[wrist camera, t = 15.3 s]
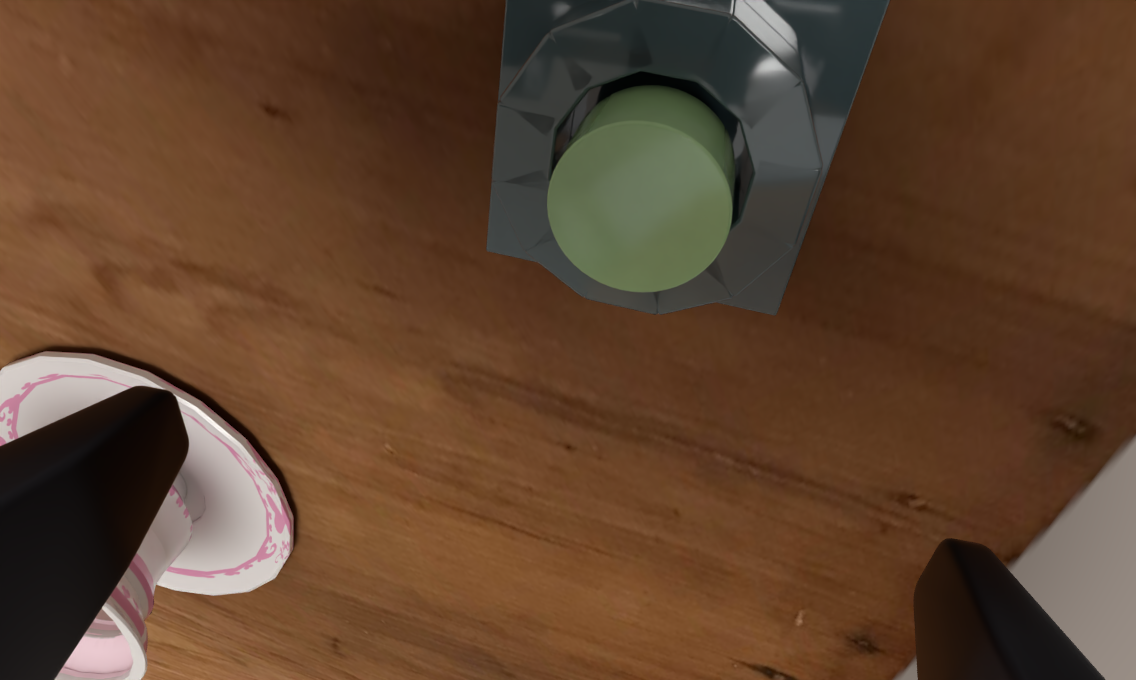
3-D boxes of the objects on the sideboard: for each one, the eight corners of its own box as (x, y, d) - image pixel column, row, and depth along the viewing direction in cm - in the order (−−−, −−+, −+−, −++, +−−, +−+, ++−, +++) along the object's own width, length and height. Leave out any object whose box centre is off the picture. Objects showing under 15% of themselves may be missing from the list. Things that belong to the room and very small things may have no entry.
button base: (883, -19, 14) (908, 16, 12) (774, 290, 18) (777, 362, 16) (526, -84, 15) (482, -63, 13) (499, 229, 19) (461, 290, 17)
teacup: (271, 382, 24) (142, 532, 19) (318, 610, 31) (233, 763, 26) (-61, 317, 25) (-260, 440, 20) (56, 549, 32) (-72, 682, 27)
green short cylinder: (756, 102, 14) (755, 143, 12) (712, 257, 15) (706, 310, 14) (581, 68, 14) (558, 103, 12) (560, 223, 16) (536, 272, 14)
